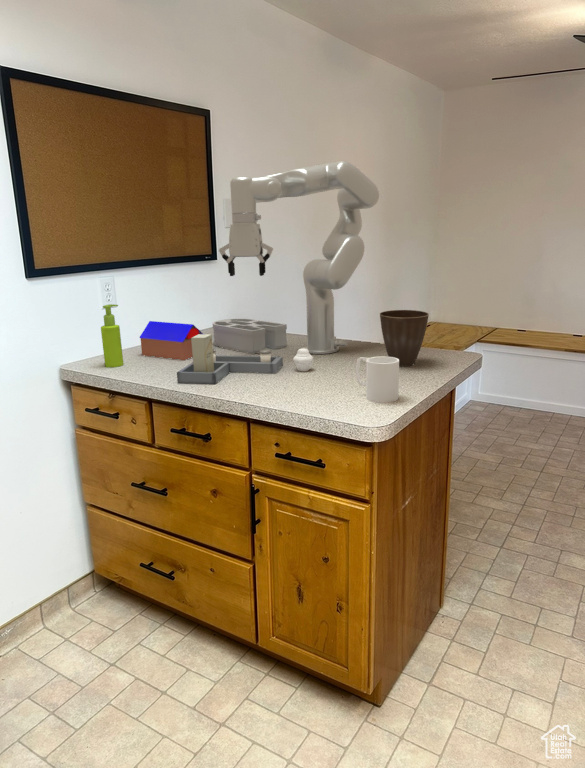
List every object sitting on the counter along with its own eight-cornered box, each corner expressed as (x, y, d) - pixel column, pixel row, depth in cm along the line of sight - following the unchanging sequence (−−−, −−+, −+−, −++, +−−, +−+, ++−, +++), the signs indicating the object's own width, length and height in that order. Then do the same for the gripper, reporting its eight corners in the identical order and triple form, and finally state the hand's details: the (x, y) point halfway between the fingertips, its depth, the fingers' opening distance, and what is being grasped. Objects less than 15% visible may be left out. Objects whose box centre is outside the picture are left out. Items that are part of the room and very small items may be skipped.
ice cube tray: (253, 355, 205) (252, 331, 203) (205, 345, 224) (203, 323, 222) (287, 347, 216) (287, 324, 214) (238, 338, 236) (237, 317, 233)
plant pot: (435, 362, 187) (437, 312, 183) (411, 371, 176) (412, 318, 172) (395, 356, 197) (396, 308, 192) (369, 364, 186) (370, 314, 182)
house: (163, 349, 219) (161, 318, 216) (206, 354, 209) (204, 321, 206) (140, 356, 209) (137, 323, 206) (184, 361, 199) (181, 327, 196)
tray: (229, 372, 182) (229, 362, 181) (215, 384, 169) (214, 373, 168) (194, 371, 184) (193, 361, 183) (177, 383, 171) (176, 372, 170)
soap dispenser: (129, 363, 198) (123, 303, 193) (115, 367, 192) (108, 306, 187) (115, 361, 200) (109, 303, 195) (101, 366, 194) (94, 306, 189)
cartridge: (272, 367, 186) (271, 349, 184) (269, 370, 183) (269, 351, 181) (262, 367, 187) (261, 349, 185) (259, 370, 183) (258, 351, 182)
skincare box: (207, 378, 173) (205, 337, 170) (193, 378, 174) (190, 337, 171) (214, 373, 179) (212, 333, 176) (201, 372, 180) (198, 333, 177)
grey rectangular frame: (282, 365, 189) (282, 356, 188) (275, 373, 179) (275, 363, 178) (204, 363, 194) (203, 354, 193) (193, 371, 184) (192, 362, 184)
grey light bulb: (218, 366, 190) (217, 348, 188) (214, 369, 186) (213, 350, 185) (208, 366, 190) (206, 348, 189) (204, 369, 187) (203, 350, 185)
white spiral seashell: (309, 373, 178) (309, 350, 177) (290, 371, 180) (290, 349, 179) (316, 368, 184) (315, 346, 182) (297, 367, 186) (297, 345, 184)
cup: (363, 389, 160) (363, 353, 157) (404, 396, 152) (404, 358, 150) (347, 397, 153) (347, 359, 151) (388, 404, 146) (389, 365, 144)
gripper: (274, 218, 183) (276, 274, 188) (221, 220, 187) (224, 274, 191) (268, 218, 176) (270, 276, 181) (213, 220, 180) (217, 277, 184)
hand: (247, 275), depth 186 cm, fingers open, 9 cm apart
